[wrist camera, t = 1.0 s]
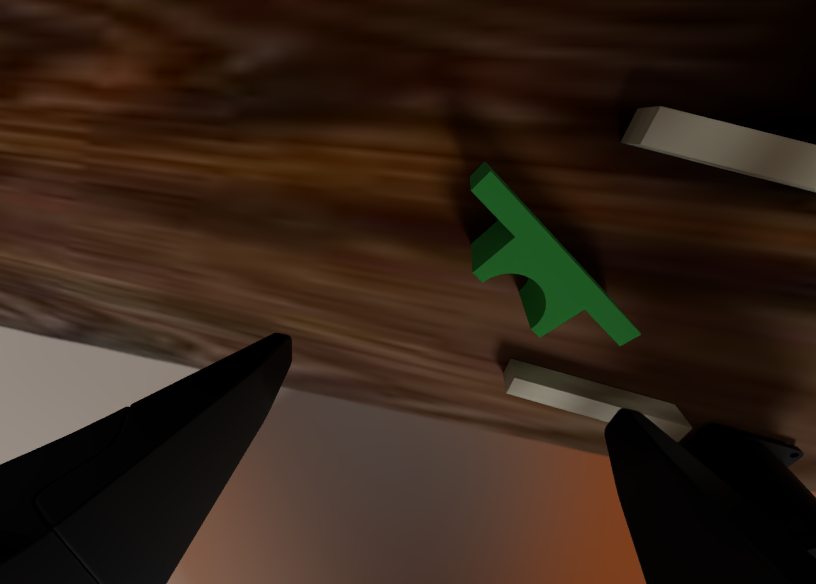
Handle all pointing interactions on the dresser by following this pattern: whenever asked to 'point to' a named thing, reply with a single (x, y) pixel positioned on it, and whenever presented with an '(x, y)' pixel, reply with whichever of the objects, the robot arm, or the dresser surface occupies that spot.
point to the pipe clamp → (538, 264)
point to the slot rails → (694, 143)
